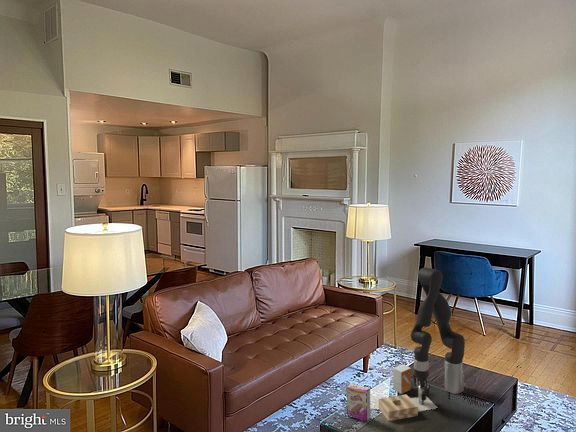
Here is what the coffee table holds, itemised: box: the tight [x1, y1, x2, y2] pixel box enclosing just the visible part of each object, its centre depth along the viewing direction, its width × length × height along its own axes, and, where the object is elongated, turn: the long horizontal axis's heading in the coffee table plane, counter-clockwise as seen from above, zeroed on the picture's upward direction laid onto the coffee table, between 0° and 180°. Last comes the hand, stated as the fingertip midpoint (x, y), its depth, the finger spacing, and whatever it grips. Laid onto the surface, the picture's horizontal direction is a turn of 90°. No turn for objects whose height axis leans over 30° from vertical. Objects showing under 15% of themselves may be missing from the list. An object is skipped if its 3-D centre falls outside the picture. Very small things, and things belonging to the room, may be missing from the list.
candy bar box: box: [346, 382, 371, 423], centre depth 219 cm, size 11×5×16 cm, turn 59°
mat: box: [409, 395, 439, 413], centre depth 229 cm, size 12×12×1 cm
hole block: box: [378, 394, 419, 422], centre depth 223 cm, size 16×12×5 cm
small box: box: [392, 363, 412, 395], centre depth 244 cm, size 8×6×13 cm
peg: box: [417, 385, 424, 405], centre depth 229 cm, size 3×3×10 cm
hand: (421, 397), depth 229 cm, fingers open, 4 cm apart
